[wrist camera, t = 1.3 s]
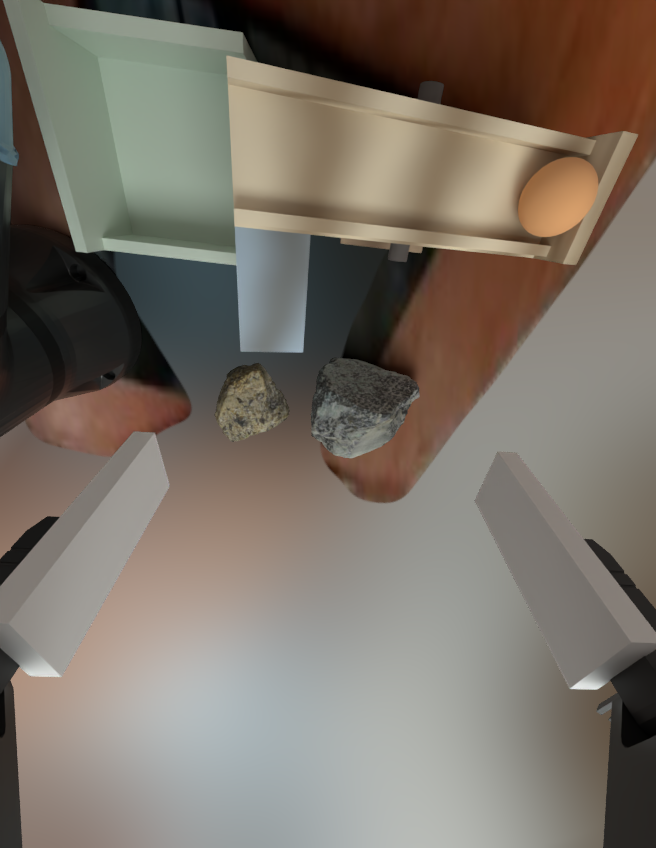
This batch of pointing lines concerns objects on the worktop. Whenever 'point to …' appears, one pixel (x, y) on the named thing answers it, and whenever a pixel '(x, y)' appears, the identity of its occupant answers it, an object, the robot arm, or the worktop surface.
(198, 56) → the bin
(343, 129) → the lever
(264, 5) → the worktop surface
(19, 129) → the worktop surface
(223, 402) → the rock
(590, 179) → the brown egg
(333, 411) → the stone
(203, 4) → the worktop surface
